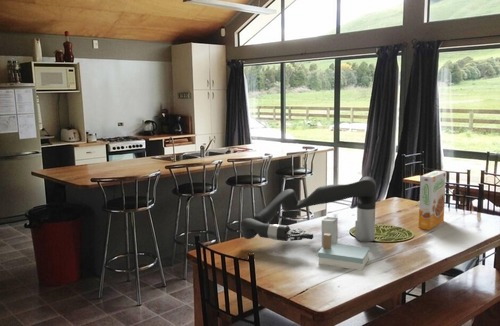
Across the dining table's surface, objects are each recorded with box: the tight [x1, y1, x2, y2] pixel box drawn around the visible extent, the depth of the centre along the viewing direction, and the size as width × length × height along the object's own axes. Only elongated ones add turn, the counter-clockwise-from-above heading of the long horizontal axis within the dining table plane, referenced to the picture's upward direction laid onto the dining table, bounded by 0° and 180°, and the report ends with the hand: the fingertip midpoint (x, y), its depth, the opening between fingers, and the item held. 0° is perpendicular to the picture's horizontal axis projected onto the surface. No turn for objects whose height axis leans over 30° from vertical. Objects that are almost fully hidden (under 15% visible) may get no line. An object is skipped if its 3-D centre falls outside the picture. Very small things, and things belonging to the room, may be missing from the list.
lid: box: [317, 233, 371, 264], centre depth 208 cm, size 20×16×9 cm
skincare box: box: [321, 216, 339, 248], centre depth 227 cm, size 8×6×15 cm
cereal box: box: [418, 170, 447, 231], centre depth 262 cm, size 22×6×30 cm, turn 138°
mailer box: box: [318, 252, 370, 271], centre depth 209 cm, size 20×14×4 cm
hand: (312, 236), depth 214 cm, fingers closed
